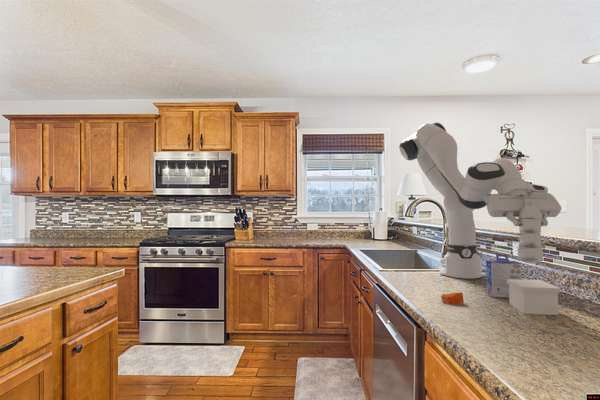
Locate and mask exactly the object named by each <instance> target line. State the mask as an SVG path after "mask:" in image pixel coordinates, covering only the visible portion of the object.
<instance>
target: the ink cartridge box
mask: <svg viewBox="0 0 600 400" xmlns="http://www.w3.org/2000/svg"><path fill="white" fill-rule="evenodd" d="M499 257H501V258H499ZM503 257H504V258H503ZM495 258H496V260H485V262H486V264H485V265H486V266H485V267H486V287H487V288H486V291H487V292H486V293H487V294H488V296H489V297H492V298H508V299H509V284H508V283H507V279H520V280H523V274H522V273H523V272H522V271H523V270H522V263H521V262H519V261H517V260H509V257H508V255H507V254H499V253H497V254H495Z"/></svg>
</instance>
